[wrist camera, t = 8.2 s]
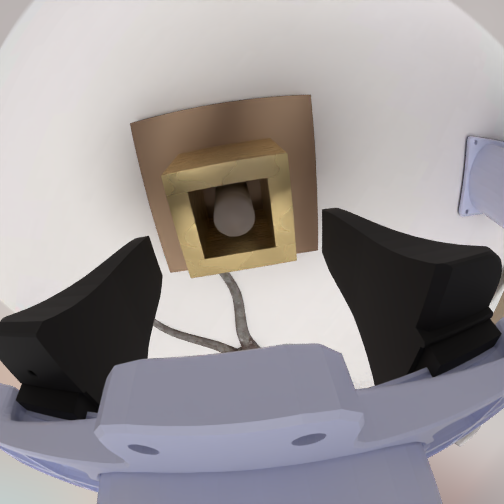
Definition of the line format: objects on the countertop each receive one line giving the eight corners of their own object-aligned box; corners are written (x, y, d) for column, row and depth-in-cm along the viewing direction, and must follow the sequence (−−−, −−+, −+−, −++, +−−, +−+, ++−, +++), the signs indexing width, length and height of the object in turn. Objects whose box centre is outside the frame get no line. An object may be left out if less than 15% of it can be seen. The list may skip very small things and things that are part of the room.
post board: (303, 94, 16) (338, 94, 11) (312, 240, 21) (338, 287, 16) (137, 121, 16) (100, 133, 10) (173, 261, 21) (160, 314, 16)
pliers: (180, 234, 20) (334, 346, 28) (182, 229, 20) (331, 340, 29) (118, 306, 23) (268, 386, 31) (121, 300, 23) (268, 381, 32)
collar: (269, 137, 16) (287, 153, 11) (279, 220, 19) (296, 260, 14) (178, 154, 16) (160, 176, 11) (197, 234, 19) (190, 278, 14)
